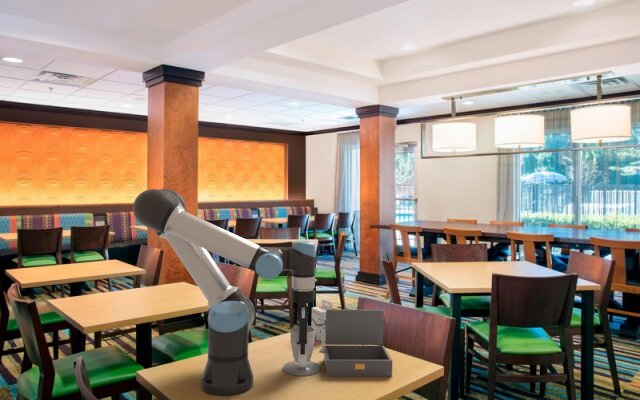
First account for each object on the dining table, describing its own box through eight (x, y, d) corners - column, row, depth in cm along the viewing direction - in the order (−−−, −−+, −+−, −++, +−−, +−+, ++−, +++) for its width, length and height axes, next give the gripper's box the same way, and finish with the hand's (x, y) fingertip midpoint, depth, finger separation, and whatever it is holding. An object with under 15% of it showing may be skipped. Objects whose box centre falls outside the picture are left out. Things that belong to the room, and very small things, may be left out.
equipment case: (323, 376, 146) (324, 321, 146) (320, 358, 162) (322, 309, 162) (392, 377, 147) (393, 322, 147) (383, 359, 163) (384, 309, 163)
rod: (319, 351, 169) (319, 349, 169) (319, 351, 170) (319, 348, 170) (343, 351, 170) (343, 349, 170) (343, 351, 171) (343, 348, 171)
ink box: (310, 336, 187) (311, 299, 187) (321, 335, 190) (322, 298, 190) (321, 342, 180) (322, 304, 180) (332, 340, 182) (333, 303, 182)
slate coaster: (282, 375, 146) (282, 373, 146) (283, 362, 158) (283, 360, 158) (321, 375, 147) (321, 374, 147) (319, 362, 159) (319, 360, 159)
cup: (317, 356, 156) (317, 326, 155) (311, 365, 148) (312, 333, 148) (293, 354, 157) (293, 324, 157) (286, 363, 149) (287, 331, 149)
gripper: (316, 295, 142) (314, 371, 142) (313, 283, 163) (312, 348, 163) (291, 295, 142) (290, 371, 142) (292, 283, 162) (291, 348, 162)
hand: (302, 359), depth 152 cm, fingers closed on cup, 8 cm apart
